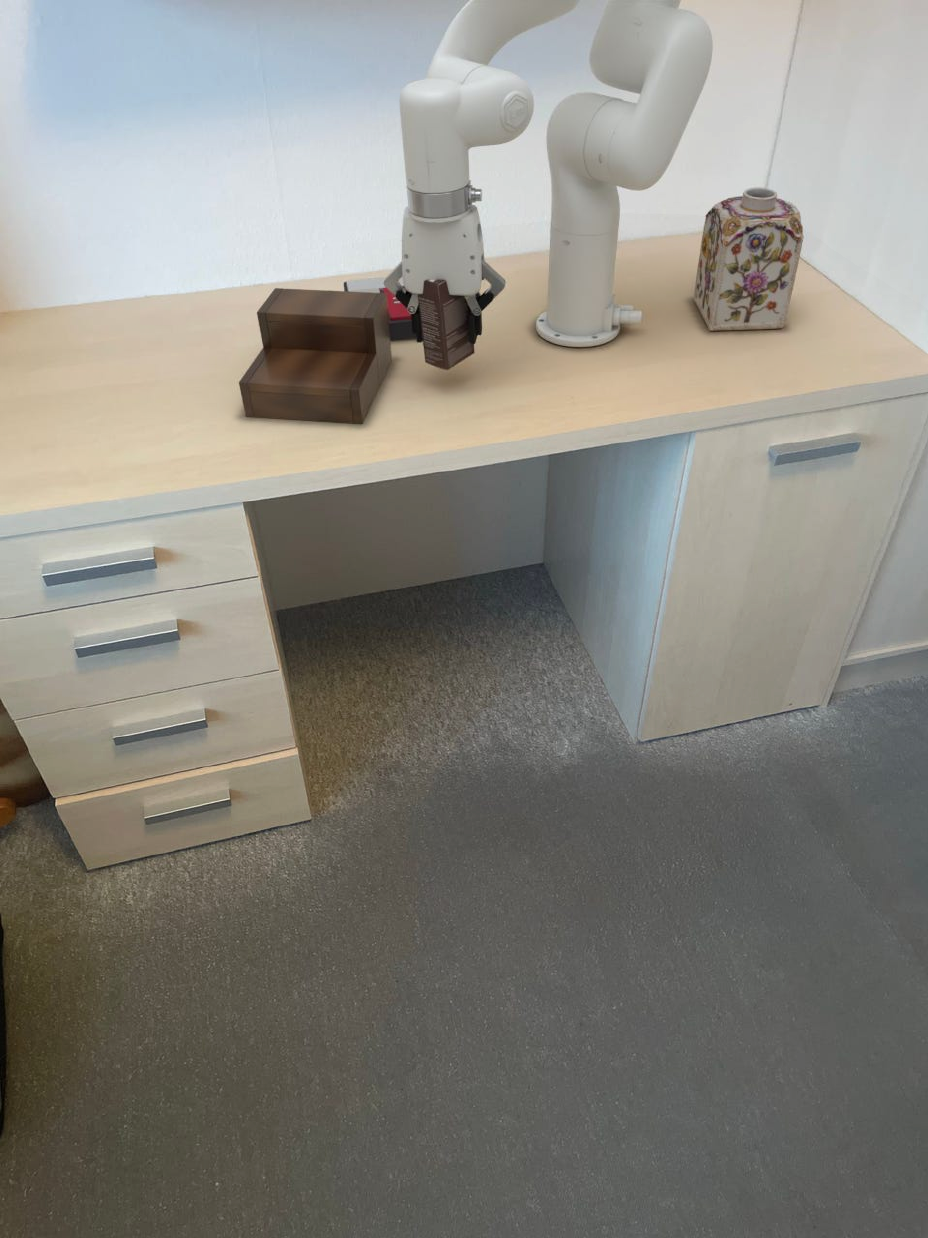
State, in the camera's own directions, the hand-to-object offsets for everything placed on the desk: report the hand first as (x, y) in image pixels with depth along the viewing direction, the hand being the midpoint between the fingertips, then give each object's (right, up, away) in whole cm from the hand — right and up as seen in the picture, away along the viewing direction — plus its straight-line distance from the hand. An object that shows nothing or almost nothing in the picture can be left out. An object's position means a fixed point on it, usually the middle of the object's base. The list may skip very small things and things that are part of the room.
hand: (447, 337), depth 121 cm
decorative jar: (+44, +9, +19) cm, 49 cm away
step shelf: (-17, -5, +6) cm, 19 cm away
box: (0, -2, +2) cm, 3 cm away
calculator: (-10, +9, +21) cm, 25 cm away
